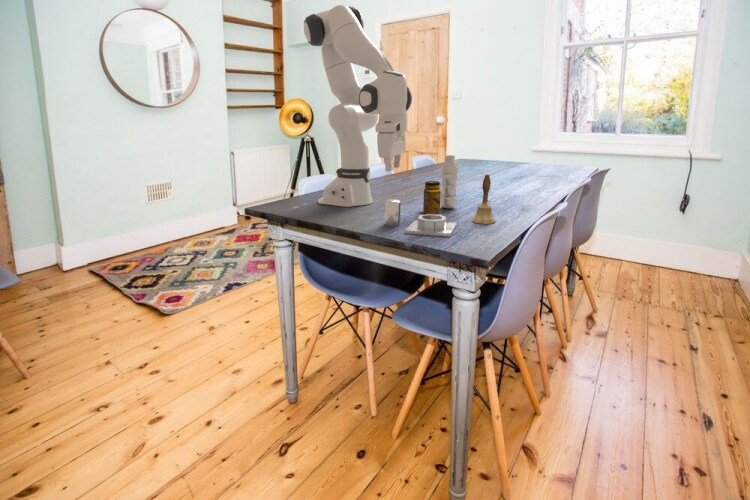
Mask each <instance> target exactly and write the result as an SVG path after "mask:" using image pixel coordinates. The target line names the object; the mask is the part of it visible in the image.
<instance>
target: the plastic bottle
mask: <svg viewBox="0 0 750 500" xmlns="http://www.w3.org/2000/svg"><path fill="white" fill-rule="evenodd" d="M455 162H456V155H450V154H449V155H445V156H444V163H443V165H442V166H441V168H440V179H441V183H440V185H441V186H440V188H441V189H440V190H441V193H440V208H443V209H446V210H448V209H454V208H456V206H457V203H458V199H457V179H458V172H459V168H458V166H457V165H456V163H455Z"/></svg>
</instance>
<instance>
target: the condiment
mask: <svg viewBox="0 0 750 500" xmlns="http://www.w3.org/2000/svg"><path fill="white" fill-rule="evenodd" d="M424 184H425V185H424V188H423V205H422V206H423V207H422V208H423V210H422V211H415V212H414V213H415V214H416V215H417V216H418V217H419V216H420V215H426V214H435V215H442V216H444V214H441V213H440V209H441V206H440V196H441V189H440V188H441V186H440V185H441V183H440V182H439V181H436V180H426V181H425V182H424Z"/></svg>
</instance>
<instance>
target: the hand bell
mask: <svg viewBox="0 0 750 500" xmlns="http://www.w3.org/2000/svg"><path fill="white" fill-rule="evenodd" d="M491 184H492V182H491V177H490V174H485V176H484V179H483V181H482V192H483V194H482V196H483V197H482V203H480V204H479V205H478V206H477V209H476V213H475V215H474V216H473V217H472V218H471V220H470V221H471V222H472V223H475V224H479V225H480V224H481V225H482V224H483V225H492V224H496V222H497V221H496V218H494V216H493V213H492V206H491V205H490V204H488V199H489V193H490V189H491Z"/></svg>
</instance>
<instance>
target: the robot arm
mask: <svg viewBox="0 0 750 500" xmlns="http://www.w3.org/2000/svg"><path fill="white" fill-rule="evenodd" d="M303 32H304V36H305V39H306V40H307V42H308V43H309V44H310V45H311V46H313V47H320V48H321V56H322V62H323V67H324V72H325V75H326V77H327V82H328V85H329V87H330V92H331V93H332V94H333V96H335V98H337V100H338V101H339V102H340V103H338V104H337V105H334V106H333V107H332V108H331V109H330V110H329V113H328V123H329V126H330V127H331V129H333V131H334V133H335V135H336V137H337V140H338V144H339V149H340V151H339V152H340V167H339V168H338V169H336V170H335V174H336V175H337V177H336V178H334V179H333V180H331V181H330V182H329V183H328V184H327V185H325V187H324V189H323V196H322V197H320V198H318V200H317V203H318V204H319V205H321V204H322V205H330V206H338V207H347V208H350V207H357V206H365V205H370V204H372V203H373V202H374V200H373V198H372V192H371V188H370V187H371V186H370V180H371V172H370V171H371V170H370V169H371V168H370V167H369V165H370V164H369V161H370V160H369V159H370V158H369V147H368V145H367V144H366V142H365V140H364V137H363V132H367V131H369V130H371V129H372V128H374V127H375V133H377V135H376V138H377V139H376V143H377V145H376V146H377V154H378V157H379V158H380V159H381V158H382V159H383V162H384V166H385V167H384V168H385V172H387V173H388V172H390V173H391V172H392V171H393V168H396V169H399V168H400V165H401V164H400V163H401V157H402V154H404V153H406V147H407V146H406V133H405V132H407V130H408V114H407V111H408V110H409V109H410V107H411V105H412V102H413V95H412V92H411V90H410V87H409V86H408V85H407V78H406V75H405V74H404V73H403V72H401V71H398V70H395V69H394V68H393V66H392V65H391V63H390V61H389V60H388V59H387V56H385V54H384V52H383V51H382V50H381V49H380V47H378V46H376V44H375V43H374V42H373V41H372V40H371V39H370V37H368V35H367V33H366V32H365V31H364V19H363V15H362V13H361V11H360V10H359V8H357V7H356V6H347V5H344V4H338V5H335V6H333V7H332V8H331V9H329V10H324V11H321V12H317V13H313V14H310V15H308V16H306V17H305V19H304V20H303ZM354 65H357V66H360V67H361V68H362V67H363V68H365V69H368V70H370V71H371V72H373V73H374V74H375V76H376V77H377V78H376V79H374V80H373V81H371V82H369V83H365V84H364V85H363V86H362V87H361V85H360V82H359V79H358V76H357V72H356V69H355V66H354ZM392 157H394V158H393V165H392Z"/></svg>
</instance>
